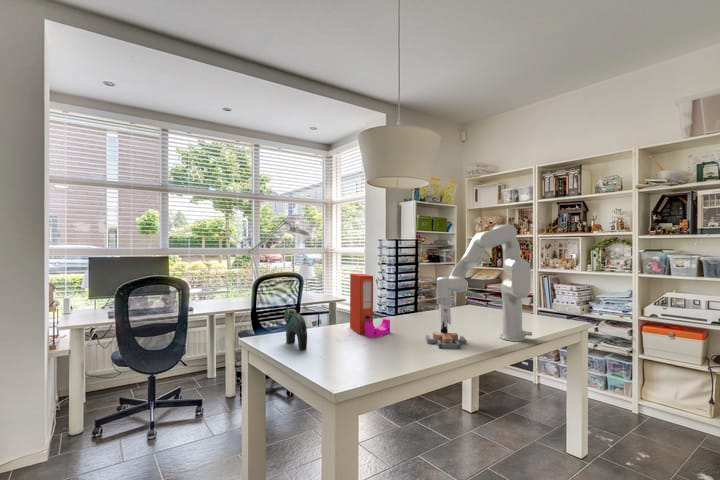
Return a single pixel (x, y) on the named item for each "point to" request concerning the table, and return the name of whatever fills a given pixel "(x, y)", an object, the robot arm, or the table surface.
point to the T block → (446, 337)
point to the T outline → (446, 345)
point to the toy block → (379, 331)
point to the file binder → (361, 301)
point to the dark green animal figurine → (295, 328)
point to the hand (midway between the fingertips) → (444, 336)
